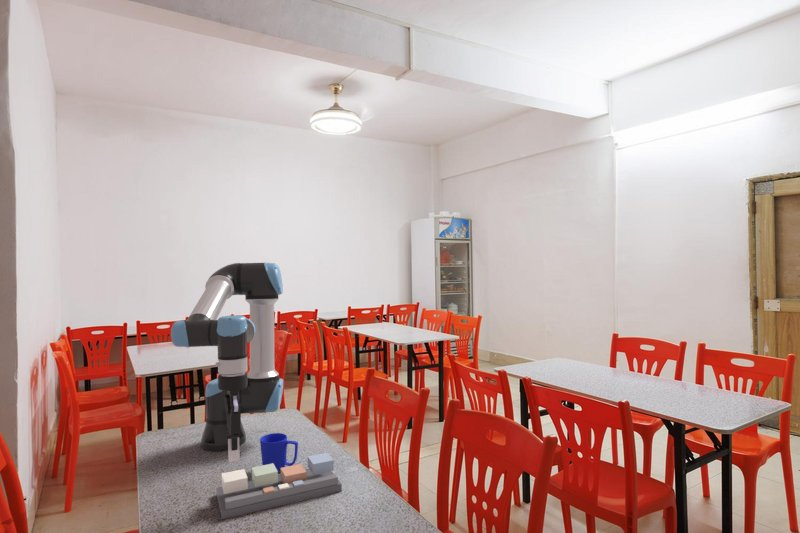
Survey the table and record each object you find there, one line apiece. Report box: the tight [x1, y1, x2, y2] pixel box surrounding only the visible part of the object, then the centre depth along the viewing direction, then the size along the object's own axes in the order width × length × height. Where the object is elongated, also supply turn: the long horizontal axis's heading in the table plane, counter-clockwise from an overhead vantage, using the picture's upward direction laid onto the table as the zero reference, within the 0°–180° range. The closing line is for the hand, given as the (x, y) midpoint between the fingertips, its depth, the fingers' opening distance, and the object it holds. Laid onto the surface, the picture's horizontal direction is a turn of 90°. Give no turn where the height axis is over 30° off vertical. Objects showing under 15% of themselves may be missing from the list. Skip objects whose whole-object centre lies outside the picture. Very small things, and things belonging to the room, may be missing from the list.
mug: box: [259, 432, 299, 473], centre depth 149 cm, size 8×12×10 cm
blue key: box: [307, 452, 335, 475], centre depth 139 cm, size 6×6×3 cm
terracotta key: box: [280, 463, 307, 484], centre depth 136 cm, size 6×6×3 cm
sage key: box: [251, 463, 279, 487], centre depth 132 cm, size 6×6×3 cm
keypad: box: [215, 468, 343, 520], centre depth 134 cm, size 14×32×4 cm, turn 116°
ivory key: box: [220, 468, 249, 494], centre depth 129 cm, size 6×6×3 cm
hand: (233, 460), depth 128 cm, fingers closed
